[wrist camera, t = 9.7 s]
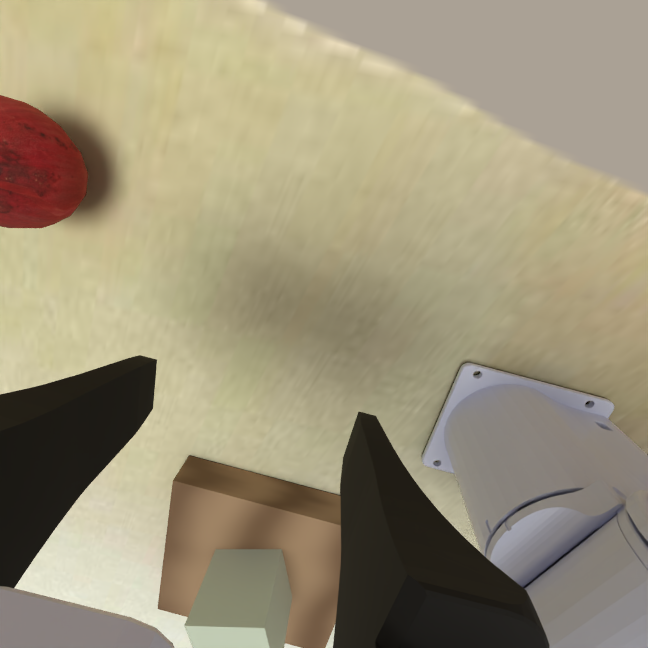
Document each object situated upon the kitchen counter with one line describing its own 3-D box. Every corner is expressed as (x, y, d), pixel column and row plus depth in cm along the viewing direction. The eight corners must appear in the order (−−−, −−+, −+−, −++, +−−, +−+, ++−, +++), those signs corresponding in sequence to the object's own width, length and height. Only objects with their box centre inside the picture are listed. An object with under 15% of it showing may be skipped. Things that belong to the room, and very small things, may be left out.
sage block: (281, 549, 26) (264, 628, 21) (292, 597, 27) (278, 679, 23) (215, 549, 26) (184, 625, 22) (229, 596, 28) (203, 676, 23)
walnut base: (370, 503, 27) (371, 533, 25) (325, 619, 32) (322, 653, 29) (189, 455, 27) (173, 480, 25) (172, 578, 32) (157, 608, 30)
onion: (124, 132, 20) (-21, 95, 12) (114, 235, 22) (-15, 258, 14) (21, 97, 19) (-190, 38, 12) (21, 204, 22) (-160, 211, 14)
